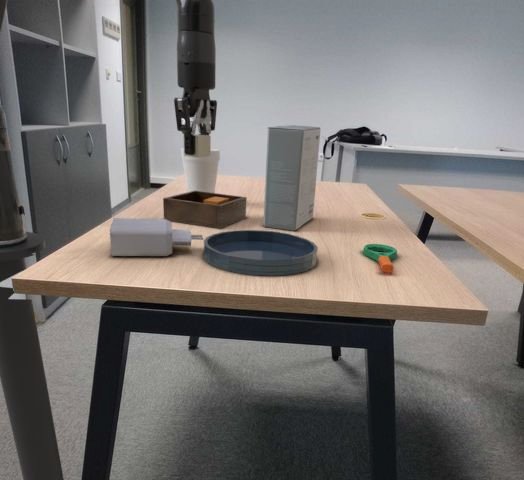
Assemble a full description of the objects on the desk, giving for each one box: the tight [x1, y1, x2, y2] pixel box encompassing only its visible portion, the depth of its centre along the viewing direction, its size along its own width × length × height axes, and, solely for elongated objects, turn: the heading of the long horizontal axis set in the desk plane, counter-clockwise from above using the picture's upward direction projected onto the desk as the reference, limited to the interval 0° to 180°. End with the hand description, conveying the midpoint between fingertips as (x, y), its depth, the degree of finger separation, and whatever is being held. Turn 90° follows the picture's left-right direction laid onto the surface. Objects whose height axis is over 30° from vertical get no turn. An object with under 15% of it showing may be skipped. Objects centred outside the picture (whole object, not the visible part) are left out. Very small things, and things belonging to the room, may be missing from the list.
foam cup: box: [180, 146, 221, 193], centre depth 120 cm, size 10×9×13 cm
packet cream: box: [182, 133, 212, 157], centre depth 100 cm, size 4×6×4 cm, turn 158°
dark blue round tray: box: [203, 229, 318, 277], centre depth 81 cm, size 19×19×2 cm
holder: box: [162, 191, 248, 229], centre depth 105 cm, size 14×14×5 cm
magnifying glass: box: [363, 243, 398, 273], centre depth 83 cm, size 15×6×2 cm, turn 173°
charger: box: [109, 217, 204, 257], centre depth 80 cm, size 5×9×15 cm
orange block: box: [204, 197, 229, 205], centre depth 104 cm, size 4×6×4 cm, turn 158°
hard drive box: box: [262, 124, 321, 232], centre depth 103 cm, size 16×8×20 cm, turn 161°
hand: (197, 153), depth 100 cm, fingers closed on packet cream, 5 cm apart
